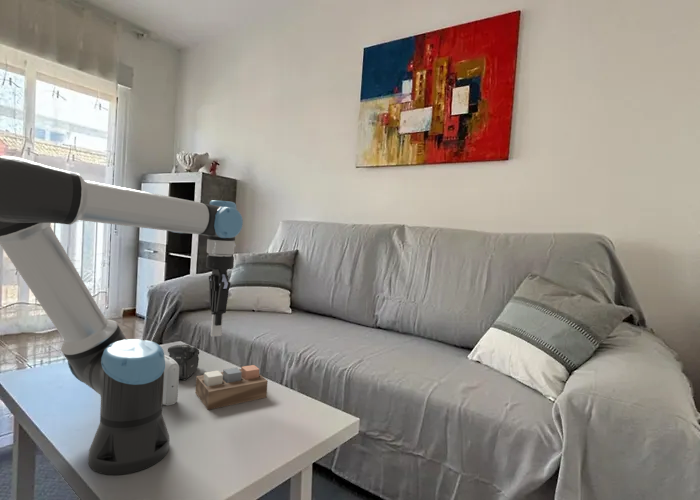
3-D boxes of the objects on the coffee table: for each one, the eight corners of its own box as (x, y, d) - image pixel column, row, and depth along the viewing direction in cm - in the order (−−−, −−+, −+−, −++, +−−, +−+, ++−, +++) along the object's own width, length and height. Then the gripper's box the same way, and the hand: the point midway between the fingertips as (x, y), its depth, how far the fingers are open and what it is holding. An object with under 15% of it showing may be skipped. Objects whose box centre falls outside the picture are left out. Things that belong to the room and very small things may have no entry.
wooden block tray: (266, 397, 117) (267, 380, 117) (207, 409, 107) (208, 391, 107) (250, 382, 127) (251, 367, 126) (195, 392, 116) (196, 376, 116)
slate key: (240, 388, 116) (241, 372, 116) (227, 391, 114) (228, 374, 114) (235, 383, 119) (236, 367, 119) (222, 386, 117) (223, 369, 117)
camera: (167, 367, 134) (168, 338, 133) (198, 365, 138) (200, 337, 137) (164, 383, 122) (166, 351, 121) (199, 380, 125) (200, 349, 125)
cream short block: (221, 392, 113) (222, 375, 113) (207, 395, 111) (208, 377, 110) (217, 387, 116) (218, 370, 116) (203, 389, 114) (204, 372, 113)
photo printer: (180, 402, 110) (182, 358, 109) (165, 407, 107) (167, 362, 106) (159, 391, 116) (161, 349, 115) (144, 396, 112) (146, 353, 111)
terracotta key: (258, 385, 120) (259, 369, 119) (245, 387, 117) (246, 371, 117) (253, 380, 123) (253, 364, 122) (240, 382, 120) (241, 366, 120)
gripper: (241, 257, 111) (236, 340, 112) (226, 252, 122) (222, 328, 123) (213, 257, 107) (209, 343, 108) (201, 252, 117) (196, 330, 119)
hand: (216, 335), depth 116 cm, fingers closed
